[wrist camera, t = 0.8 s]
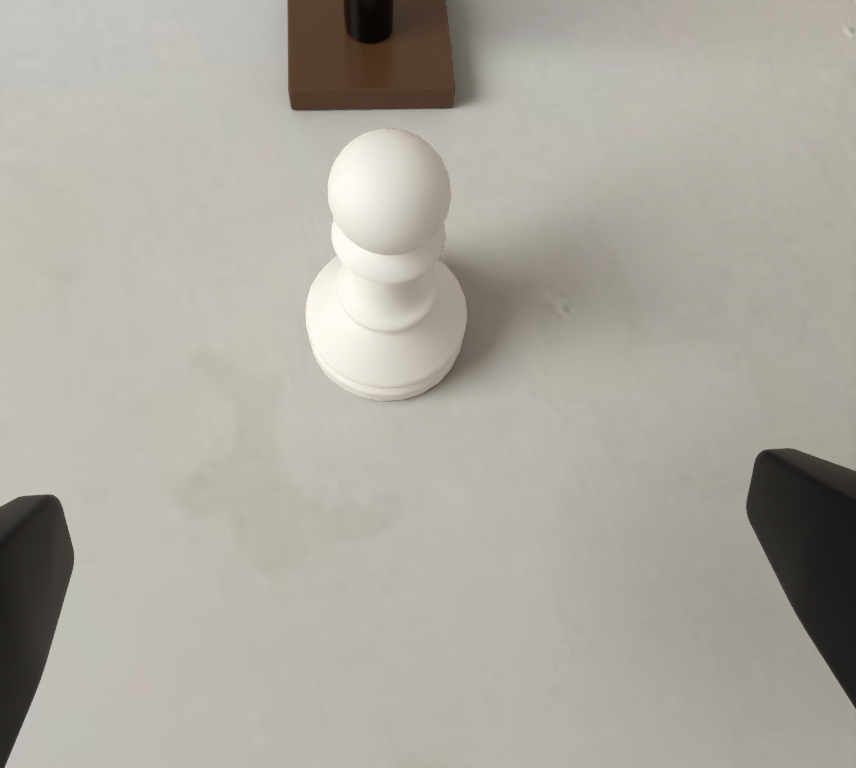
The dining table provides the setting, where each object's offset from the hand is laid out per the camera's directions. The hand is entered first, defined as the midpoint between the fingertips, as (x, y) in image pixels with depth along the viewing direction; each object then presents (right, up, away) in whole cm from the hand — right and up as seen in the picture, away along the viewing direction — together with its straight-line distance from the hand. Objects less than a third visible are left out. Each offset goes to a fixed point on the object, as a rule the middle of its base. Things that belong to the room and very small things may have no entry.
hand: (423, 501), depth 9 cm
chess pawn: (-1, +3, +15) cm, 15 cm away
